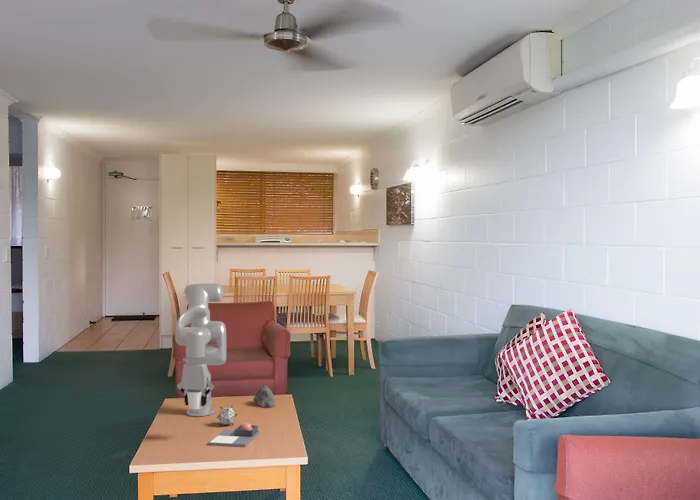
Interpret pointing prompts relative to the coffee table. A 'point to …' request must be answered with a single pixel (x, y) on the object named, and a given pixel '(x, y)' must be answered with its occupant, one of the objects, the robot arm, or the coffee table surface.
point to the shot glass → (194, 399)
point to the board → (235, 437)
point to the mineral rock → (264, 397)
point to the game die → (226, 415)
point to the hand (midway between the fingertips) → (195, 404)
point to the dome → (246, 427)
